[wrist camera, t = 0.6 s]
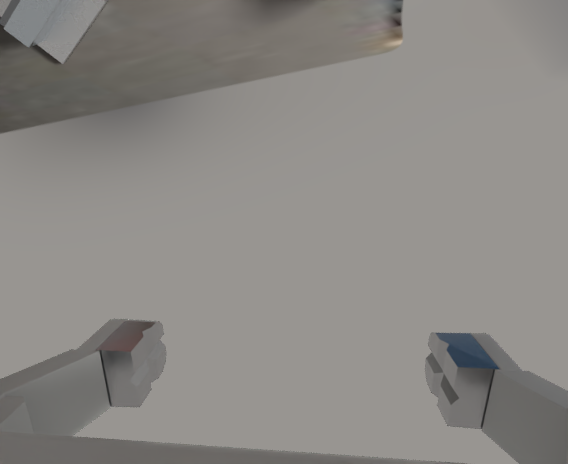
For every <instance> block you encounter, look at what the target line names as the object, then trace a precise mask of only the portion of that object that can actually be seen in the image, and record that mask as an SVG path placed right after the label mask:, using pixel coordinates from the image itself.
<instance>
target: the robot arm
mask: <svg viewBox="0 0 568 464" xmlns="http://www.w3.org/2000/svg"><path fill="white" fill-rule="evenodd" d="M163 334H164V332H163V326H162V324H161V323H160V322H159V321H145V320H128V319H112V320H109V321H108V322H107V323H106V324H105V325H104V326H102V327H101V328H100V329H99V330H98V331H97V332H96V333H95V334H93V335H92V336H91V337H90V338H89V339H88V340H87V341H86V342H85V343H83V344H82V345H81V346H80V347H79V348H78V349H77V350H69V351H67V352H64V353H62V354H60V355H57V356H55V357H52V358H50V359H47V360H45V361H43V362H41V363H38V364H36V365H33V366H31V367H28V368H26V369H24V370H21V371H19V372H17V373H14V374H12V375H9V376H7V377H4V378H2V379H0V464H465V463H450V462H436V461H420V460H407V459H393V458H378V457H364V456H349V455H335V454H320V453H305V452H290V451H275V450H261V449H246V448H232V447H217V446H203V445H189V444H174V443H160V442H146V441H131V440H116V439H103V438H88V437H73V435H75V434H76V433H77V432H79V431H80V430H81V429H83V428H84V427H85V426H87V425H88V424H89V423H91V422H92V421H93V420H95V419H96V418H98V417H99V416H100V415H102V414H103V413H104V412H106V411H107V410H108V409H109V408H110V406H112V407H114V406H115V407H140V406H141V405H142V403H143V401H144V400H145V398H146V397H147V395H148V394H149V392H150V391H151V382H153V381H154V380H156V379H158V378H159V376H160V375H161V373H162V371H163V368H164V365H165V362H166V347H165V345H164V344H163V343H162V342H161V341H160V339H161V337H162V336H163ZM428 346H429V347H430V349H431V351H432V353H431V354H430V355H429V356H428V357H427V358H426V364H425V373H426V380H427V383H428V386H429V388H430V391H431V393H433V394H434V395H435V396H437V397H438V408H439V409H440V412H441V414H442V416H443V418H444V420H445V422H446V424H447V426H453V427H464V428H475V429H482V431H483V432H484V433H485V434H486V435H487V436H488V437H490V438H491V439H492V440H493V441H494V442H495V443H496V444H497V445H499V446H500V447H501V448H502V449H503V450H504V451H505V452H507V453H508V454H509V455H510V456H511V457H512V458H513V459H514V460H516V461H517V462H518V463H519V464H568V391H567V390H565V389H563V388H561V387H559V386H557V385H555V384H553V383H551V382H549V381H547V380H545V379H543V378H541V377H540V376H538V375H536V374H534V373H531V372H530V371H522V369H520V367H519V366H518V365H517V364H516V363H515V362H514V361H513V360H512V359H511V358H510V356H509V355H508V354H507V353H506V352H505V351H504V350H503V349H502V348H501V347H500V346H499V345H498V343H497V342H496V341H495V340H494V339H493V338H492V337H491V336H490V335H488V334H486V333H431V334H430V337H429V342H428Z"/></svg>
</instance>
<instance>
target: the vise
mask: <svg viewBox="0 0 568 464" xmlns="http://www.w3.org/2000/svg"><path fill="white" fill-rule="evenodd" d="M107 2H108V0H0V17H1V19H0V24H1V25H2V26H4V30H6V31H7V32H8V33H10V34H11V35H12V36H14V37H15V38H16V39H18V40H19V41H20V42H22V43H23V44H24V45H26V46H27V47H28V48H29V47H31V46H34V45H36V44H37V45H38V46H40V47H41V48H42V49H44V50H45V51H46V52H47V53H49V54H50V55H51V56H53V57H54V58H55V59H57V60H58V61H59V62H61V63H62V64H64V63H65V62H67V60H68V59H69V57H70V56H71V54H72V53H73V51H74V50H75V49H76V47H77V46H78V44H79V43H80V41H81V40H82V38H83V37H84V36H85V34H86V33H87V31H88V30H89V28H90V27H91V25H92V24H93V23H94V21H95V20H96V18H97V17H98V15H99V14H100V12H101V11H102V10H103V8H104V7H105V5H106V4H107Z"/></svg>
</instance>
